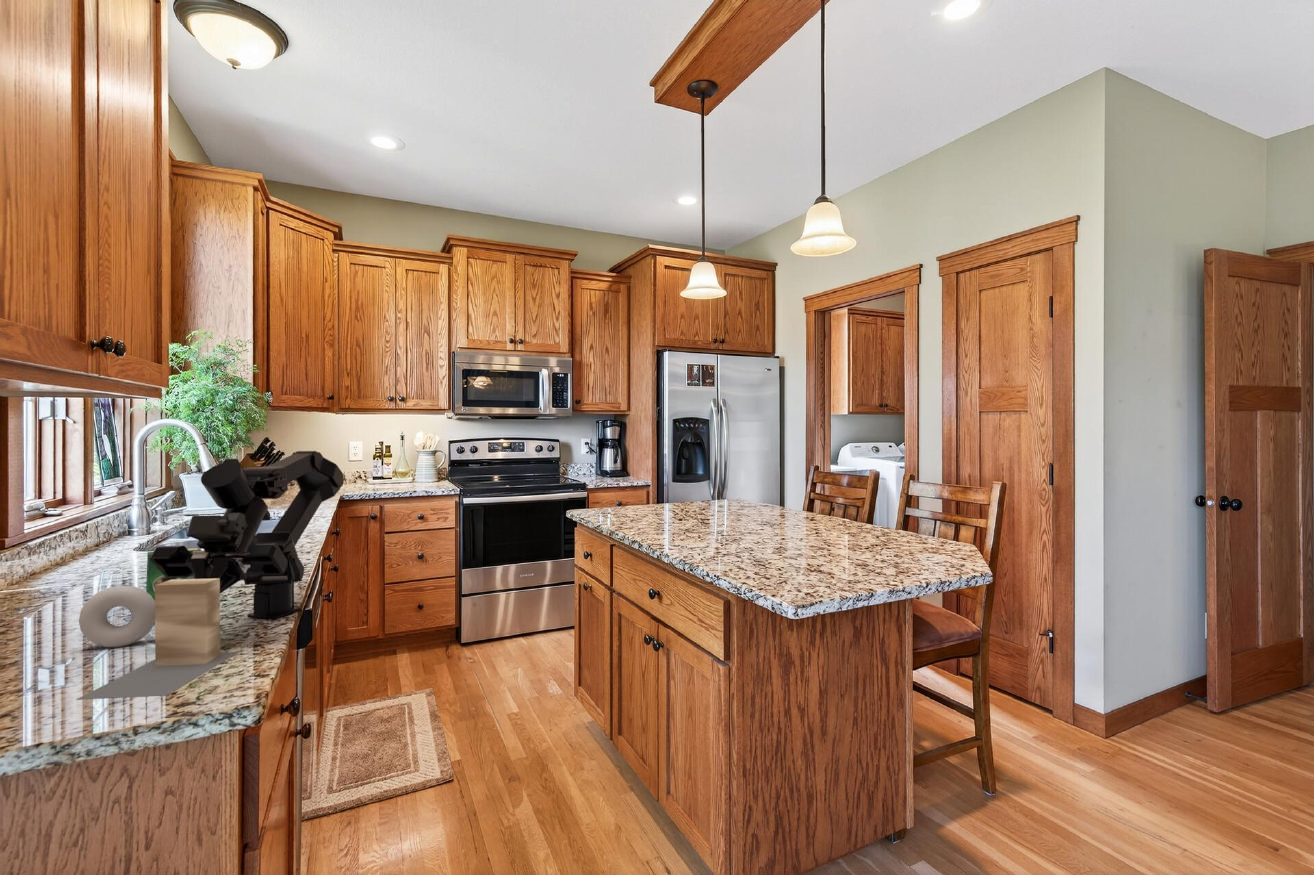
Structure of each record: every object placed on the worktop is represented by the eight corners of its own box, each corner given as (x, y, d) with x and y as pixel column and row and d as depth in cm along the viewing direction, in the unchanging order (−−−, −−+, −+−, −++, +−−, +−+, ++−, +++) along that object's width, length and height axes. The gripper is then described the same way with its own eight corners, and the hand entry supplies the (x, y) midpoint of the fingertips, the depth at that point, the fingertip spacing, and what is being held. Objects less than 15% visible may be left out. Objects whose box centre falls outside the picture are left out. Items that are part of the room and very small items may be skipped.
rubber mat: (163, 656, 94) (163, 655, 94) (238, 653, 96) (238, 652, 96) (76, 700, 79) (76, 699, 79) (167, 696, 80) (167, 695, 80)
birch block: (171, 657, 93) (171, 579, 93) (220, 655, 94) (219, 578, 94) (155, 665, 90) (154, 585, 90) (205, 663, 91) (205, 583, 91)
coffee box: (200, 613, 117) (199, 546, 117) (202, 616, 115) (201, 548, 115) (145, 622, 112) (145, 551, 112) (146, 626, 110) (146, 553, 110)
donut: (161, 639, 102) (160, 580, 102) (153, 645, 99) (153, 584, 99) (84, 647, 98) (84, 586, 98) (74, 654, 95) (74, 591, 95)
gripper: (157, 496, 99) (103, 580, 88) (278, 495, 101) (240, 576, 90) (189, 537, 106) (143, 618, 95) (301, 535, 108) (268, 614, 97)
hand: (197, 606), depth 94 cm, fingers closed
